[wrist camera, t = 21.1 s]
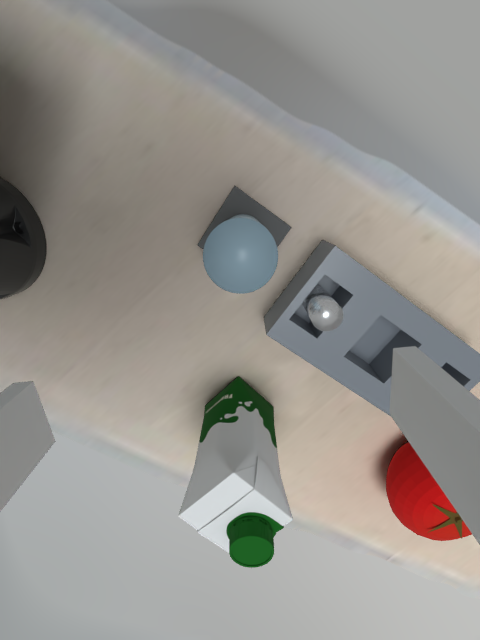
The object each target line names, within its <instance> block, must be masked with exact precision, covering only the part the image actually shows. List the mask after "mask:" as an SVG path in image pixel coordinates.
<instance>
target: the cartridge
mask: <svg viewBox="0 0 480 640" xmlns="http://www.w3.org/2000/svg"><path fill="white" fill-rule="evenodd" d="M203 262H204V266H205V269H206V271H207V273H208V275H209V277H210V278H211V280H212V281H213V282H214V283H215V284H216V285H217V286H219V287H220V288H222V289H224V290H226V291H229V292H232V293H249V292H253V291H255V290H257V289H259V288H261V287H262V286H264V285H265V284H266V283H267V282H268V281H269V280H270V278H271V277H272V275H273V274H274V272H275V269H276V266H277V262H278V250H277V245H276V242H275V240H274V238H273V236H272V235H271V233H270V232H269V231H268V229H267V228H266V227H265V226H263V225H262V224H261V223H260V222H259V221H258V220H257V219H256V218H254V217H252V216H250V215H247V214H239V215H236V216H233V217H232V218H230V219H229V220H226V221H224V222H222V223H221V224H219V225H218V226H217V227H216V228H214V230H213V231H212V232H211V233H210V235H209V236H208V238H207V240H206V242H205V245H204V250H203Z"/></svg>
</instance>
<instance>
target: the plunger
mask: <svg viewBox="0 0 480 640" xmlns="http://www.w3.org/2000/svg"><path fill="white" fill-rule="evenodd" d="M302 305H303V307H304V309H305V310H306V312H307V314H308V316H309V318H310V320H311V321H312V323H313V325H314V326H315V327H316V328H317V329H319V330H321V331H331V330H334V329H336V328H337V327H338V326H339V325H340V324H341V322H342V320H343V310H342V308H341V307H340V306H339V304H338V303H337V302H336V301H335V300H334V299H333V298H332V297H331V296H330V295H329V294H328V292H327V291H326V290H325V289H324V288H323V287H321V286H318V285H316V286H315V287H314V289H313V290H312V291H311V292H310V294H309V295H308V296H307V297H306V299H305V300H304V301H303V302H302Z"/></svg>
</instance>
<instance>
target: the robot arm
mask: <svg viewBox="0 0 480 640" xmlns="http://www.w3.org/2000/svg"><path fill="white" fill-rule="evenodd" d="M45 256H46V243H45V236H44V232H43V228H42V226H41V223H40V221H39V218H38V216H37V214H36V213H35V211H34V209H33V208H32V206H31V205H30V203H29V202H28V201H27V199H26V198H25V197H24V196H23V195H22V194H21V193H20V192H19V191H18V190H17V189H16V188H15V187H13V186H12V185H11V184H9V183H8V182H7V181H5V180H3V179H2V178H0V299H3V298H7V297H9V296H12V295H14V294H17V293H19V292H22V291H23V290H25V289H27V288H28V287H29V286H30V285H32V284H33V283H34V282H35V280H36V279H37V278H38V276H39V274H40V273H41V271H42V268H43V265H44V261H45ZM389 414H390V415H391V417H392V418H393V420H394V421H395V423H396V424H397V425H398V427H399V428H400V430H401V431H402V433H403V434H404V436H405V437H406V439H407V440H408V441H409V443H410V444H411V446H412V447H413V449H414V450H415V452H416V453H417V454H418V456H419V457H420V459H421V460H422V462H423V463H424V465H425V466H426V468H427V469H428V470H429V472H430V473H431V475H432V476H433V478H434V479H435V481H436V482H437V483H438V485H439V486H440V488H441V489H442V491H443V492H444V494H445V495H446V497H447V498H448V499H449V501H450V502H451V504H452V505H453V507H454V508H455V510H456V511H457V513H458V514H459V515H460V517H461V518H462V520H463V521H464V523H465V524H466V526H467V527H468V528H469V530H470V531H471V533H472V534H473V536H474V537H475V539H476V540H477V542H478V543H479V544H480V400H479V399H478V398H477V397H475V396H474V395H473V394H472V393H471V392H469V391H468V390H467V389H466V388H465V387H464V386H462V385H461V384H460V383H459V382H458V381H456V380H455V379H454V378H453V377H452V376H450V375H449V374H448V373H447V372H446V371H444V370H443V369H442V368H441V367H440V366H438V365H437V364H436V363H435V362H434V361H433V360H431V359H430V358H429V357H428V356H427V355H425V354H424V353H423V352H422V351H421V350H419V349H418V348H417V347H416V346H411V347H400V348H393V361H392V378H391V396H390V413H389ZM54 443H55V439H54V436H53V434H52V431H51V428H50V425H49V423H48V420H47V417H46V414H45V412H44V409H43V406H42V404H41V401H40V398H39V395H38V393H37V390H36V387H35V385H34V382H33V381H30V382H19V383H13V384H11V385H10V386H9V387H8V388H6V389H5V390H4V391H3V392H1V393H0V511H1V510H2V509H3V508H4V506H5V505H6V504H7V502H8V501H9V500H10V499H11V497H12V496H13V495H14V494H15V492H16V491H17V490H18V489H19V487H20V486H21V485H22V483H23V482H24V481H25V480H26V478H27V477H28V476H29V474H30V473H31V472H32V471H33V469H34V468H35V467H36V466H37V464H38V463H39V462H40V460H41V459H42V458H43V457H44V455H45V454H46V453H47V452H48V450H49V449H50V448H51V446H52V445H53V444H54Z"/></svg>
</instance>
